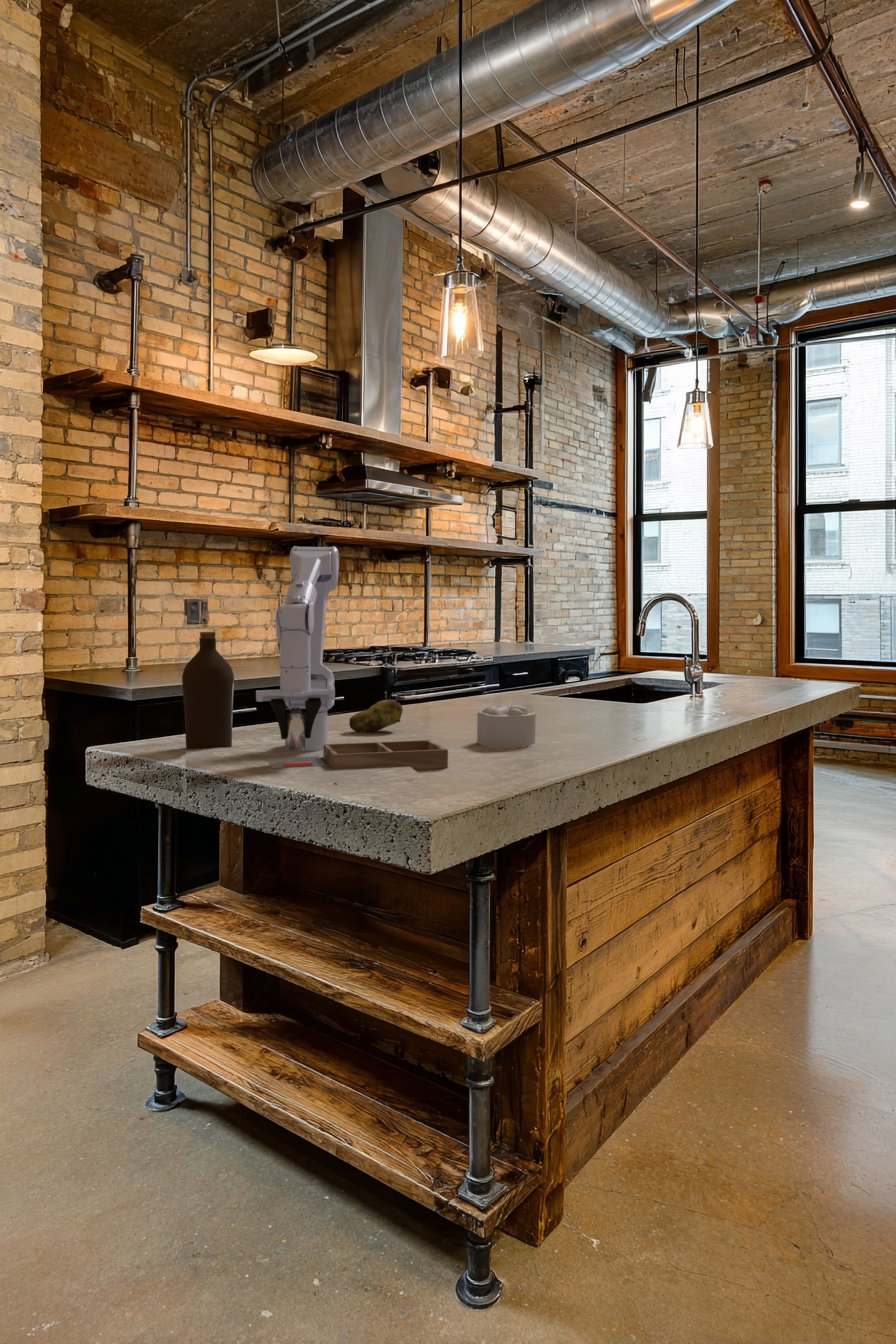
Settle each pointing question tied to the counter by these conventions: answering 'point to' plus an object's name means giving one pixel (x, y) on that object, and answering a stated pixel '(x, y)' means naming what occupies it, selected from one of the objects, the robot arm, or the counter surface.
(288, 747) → the cell
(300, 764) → the grey square base plate
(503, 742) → the lumpy-topped squat cylinder
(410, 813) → the counter surface
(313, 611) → the robot arm
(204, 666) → the olive oil
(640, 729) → the counter surface
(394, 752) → the sorting tray
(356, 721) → the potato
